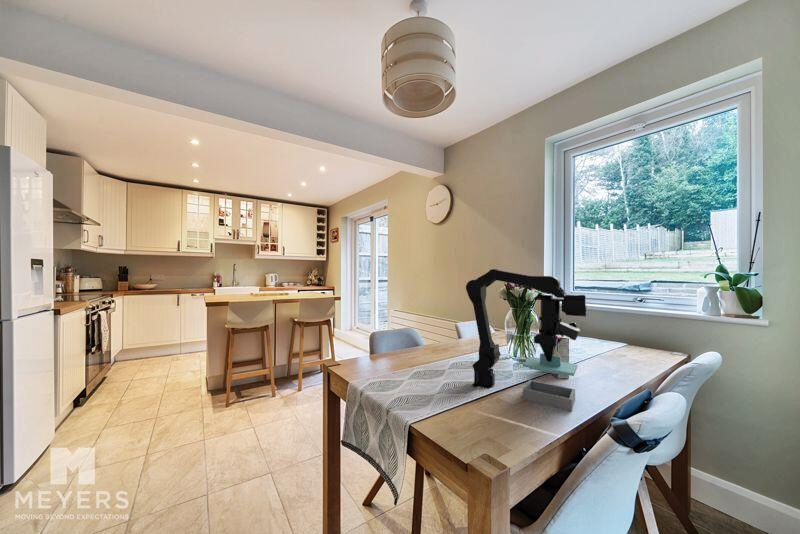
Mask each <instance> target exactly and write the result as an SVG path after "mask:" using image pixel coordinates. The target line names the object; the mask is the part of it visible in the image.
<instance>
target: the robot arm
mask: <svg viewBox="0 0 800 534" xmlns="http://www.w3.org/2000/svg"><path fill="white" fill-rule="evenodd" d="M496 281H498V282H504V283H509V284H514V285H520V286H524V287H529V288H531V289H533V290H535V291H539V292H538V294H537V295H536V296H535V297H534V298H533V299H534V300H535V301H540V313H539V314H540V316H538V321H540V325H539V326H540V328H539V329H538V333H537V334H536V335H534V336H533V343H534V344H538V345H539V346H540V348H541V350H542V353H543V354H544V355H545V357H546V359H547V361H548V362H551V360H552V356H553V355H554V351H555V347H556V345H558V344H559V342H560V341H561V340H562V339H558V338H557V336H556V335H561V337H563V336H565V337H567V338H569V340H570V339H571V340H573V341H576V340H577V338H578V336H579V334H580V332H581V329H580V328H579V327H578V324H577V323H576V322H573V321H571V322H569V323H568V322H563V320H562V317H561V315H560V311H561V312H562V313H563V314H565V316H570V317H571V316H573V317H583V318H584V317H585V318H586V317H587V304H586V302H587V301H586V295H585V294H567V293H566V291H565V290H564V289H563V288H562V287H561V281H560V280H559V278H558V277H556V276H553V275H527V274H522V273H518V272H511V271H504V270H499V269H498V268H491V269H490V270H488V271H487V272H486V273H484V274H482V275H481V276H479V277H477V278H476V279H471V280H469V281H468V282H467V283H466V284H465V291H466V293H467V296H468V298H469V300H470V301H471V303H472V306H473V311H474V317H475V321H476V327H477V332H478V338H479V347H478V360H477V361H475V362H474V363H473V364H472V369H473V372H474V373H473V375H474V376H473V377H474V379H473V383H472V384H471V386H473V387H476V388H477V387H480V388H485V389H487V390H488V389H491V388H493V387H494V386H495V384H496V383H495V382H496V374H495V373H494V366H495V365H496V364H497V363H498V362H499V361H500V356H501V351H500V345H499V344H498V343H497V344H495V342H494V341H493V338H492V332H491V326H490V321H489V315H488V311H487V306H486V298H487V288H489V287H490V286H491V285H492V284H493V283H495V282H496ZM543 293H544V294H543ZM546 294H547V295H546ZM553 296H554V297H553ZM560 302H561V303H560ZM560 305H561V307H560ZM560 308H561V309H560Z"/></svg>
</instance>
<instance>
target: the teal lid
mask: <svg viewBox="0 0 800 534" xmlns="http://www.w3.org/2000/svg"><path fill="white" fill-rule="evenodd" d="M522 367H524V368H528V369H529V370H535V371H539V372H540V371H541V372H543V373H544V372H545V373H550V374H551V373H554V374H560V375H565V376H569V377H570V376H571V377H575V374H576V372H577V370H578V367H579V366H578V364H577V363H571V362H569V363H566V362H561V356H555V355H553V356H552V360H551V362H548V361H547V359H546V357H545V355H544V353H543V352H541V353H539V357H535V356H529V357H528V359H526V360H525V361H524V362H523V363H522Z"/></svg>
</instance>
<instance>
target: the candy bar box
mask: <svg viewBox="0 0 800 534" xmlns="http://www.w3.org/2000/svg"><path fill="white" fill-rule="evenodd" d="M556 336H557V338H558V339H562V340H561V341H560V342H559V344H558V345H556V347H555V351H554V355H555V356H561V362H566V363H570V338H569V337H567V336H565V335H564V336H563V337H561V335H556ZM550 374H551V375H552V376H554V377H555V378H556V379H559V380H560V379H566V380H567V379H570V375H569V376H565V375H560V374H554V373H550Z"/></svg>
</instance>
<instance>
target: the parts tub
mask: <svg viewBox="0 0 800 534" xmlns="http://www.w3.org/2000/svg"><path fill="white" fill-rule="evenodd" d="M556 395H563V396H565V397H561V396H556ZM522 400H524V401H529V402H532V403H536V404H540V405H544V406H547V407H552V408H556V409H561V410H564V411H568V412H573V409H574V405H575V403H576V389H575V388H571V387H566V386H561V385H557V384H553V383H548V382H544V381H538V380H534V379H529V380H528V381H527V383H526V384H525V385H524V387H523V388H522Z"/></svg>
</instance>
